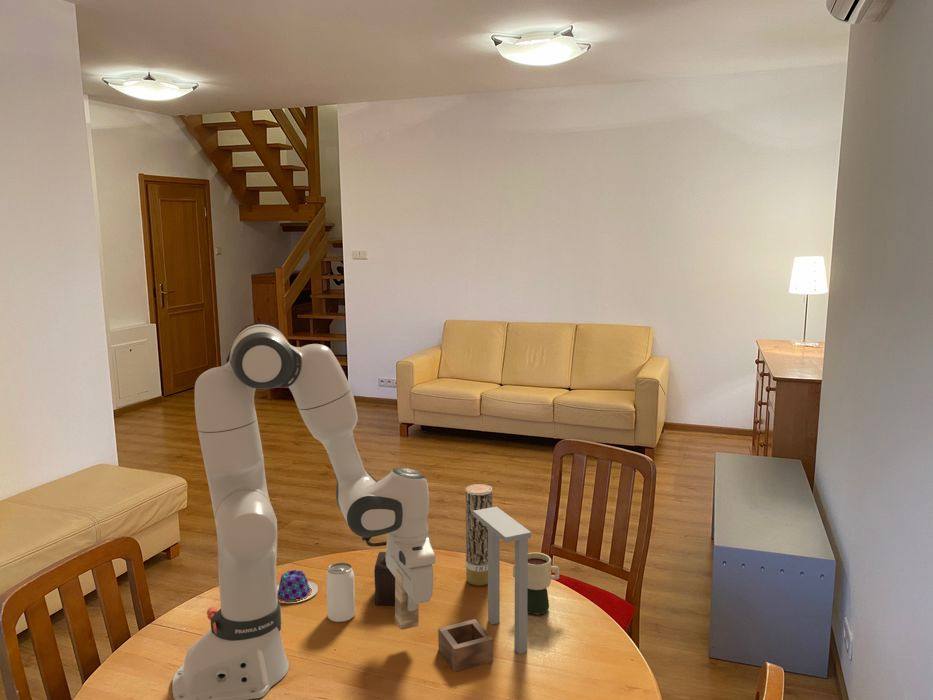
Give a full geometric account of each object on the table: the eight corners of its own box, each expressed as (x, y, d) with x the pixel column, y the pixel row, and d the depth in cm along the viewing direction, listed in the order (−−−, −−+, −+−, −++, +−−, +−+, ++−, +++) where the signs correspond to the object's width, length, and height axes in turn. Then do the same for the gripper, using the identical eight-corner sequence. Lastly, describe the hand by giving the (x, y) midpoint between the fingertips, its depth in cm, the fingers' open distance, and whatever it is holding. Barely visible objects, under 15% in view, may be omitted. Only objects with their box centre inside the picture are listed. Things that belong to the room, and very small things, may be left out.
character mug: (558, 603, 171) (558, 552, 169) (559, 618, 164) (560, 566, 162) (513, 601, 172) (513, 551, 170) (512, 616, 165) (513, 564, 163)
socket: (454, 671, 144) (454, 649, 143) (438, 649, 151) (438, 628, 151) (493, 661, 147) (493, 639, 146) (475, 639, 155) (475, 618, 154)
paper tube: (460, 580, 183) (460, 488, 179) (479, 572, 187) (479, 482, 183) (478, 589, 178) (478, 495, 174) (497, 580, 182) (497, 488, 178)
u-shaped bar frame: (505, 659, 148) (505, 537, 144) (473, 622, 162) (472, 510, 158) (530, 652, 150) (531, 532, 146) (496, 617, 164) (496, 506, 160)
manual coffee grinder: (419, 583, 181) (418, 517, 178) (417, 605, 170) (416, 535, 167) (359, 584, 181) (357, 518, 178) (353, 606, 170) (350, 536, 167)
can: (349, 624, 162) (347, 575, 160) (323, 621, 163) (321, 573, 161) (359, 610, 168) (357, 563, 166) (333, 607, 169) (332, 560, 167)
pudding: (278, 582, 183) (277, 563, 182) (323, 583, 182) (322, 564, 181) (262, 605, 171) (261, 585, 170) (310, 606, 170) (309, 586, 170)
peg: (400, 629, 150) (401, 576, 148) (394, 620, 154) (395, 569, 152) (418, 626, 152) (419, 573, 150) (412, 617, 155) (412, 566, 154)
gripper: (379, 527, 158) (378, 584, 160) (409, 564, 140) (408, 629, 142) (405, 523, 161) (404, 580, 163) (439, 559, 142) (437, 623, 144)
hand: (406, 603), depth 152 cm, fingers closed on peg, 4 cm apart
